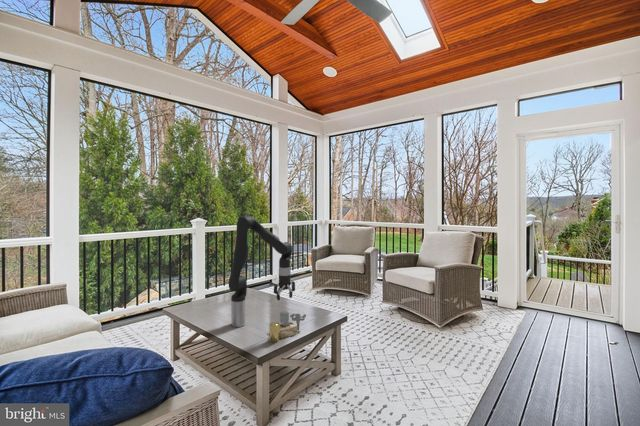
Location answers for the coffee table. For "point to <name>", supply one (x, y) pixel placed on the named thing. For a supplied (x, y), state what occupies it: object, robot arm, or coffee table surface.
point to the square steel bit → (284, 319)
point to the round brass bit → (274, 332)
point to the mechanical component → (298, 318)
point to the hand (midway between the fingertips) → (284, 298)
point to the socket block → (288, 330)
